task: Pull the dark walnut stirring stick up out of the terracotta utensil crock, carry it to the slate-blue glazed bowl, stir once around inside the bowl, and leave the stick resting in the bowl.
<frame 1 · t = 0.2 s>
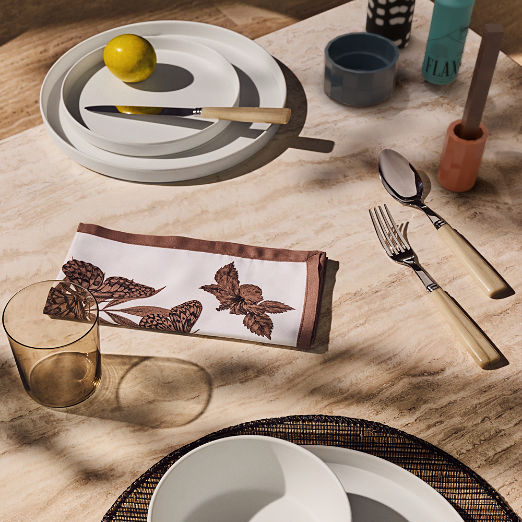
beverage bottle: (437, 82, 118), on the table
glass: (386, 40, 128), on the table
stirring stick: (457, 175, 101), point 1 cm above the table, touching crock
crock: (455, 179, 102), on the table
bowl: (358, 87, 118), on the table
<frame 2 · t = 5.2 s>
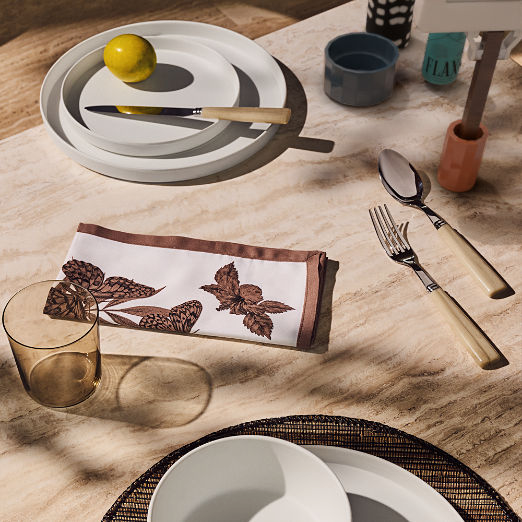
hand: (487, 58, 86), 21 cm above the table, tool pointing down, fingers closed on stirring stick, 2 cm apart
stirring stick: (457, 175, 101), point 1 cm above the table, touching crock, gripper
everything else where it was.
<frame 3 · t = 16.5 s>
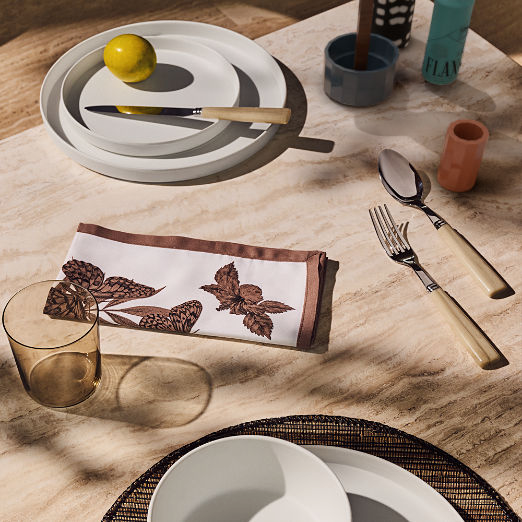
stirring stick: (358, 84, 117), point 1 cm above the table, touching bowl
everything else where it was.
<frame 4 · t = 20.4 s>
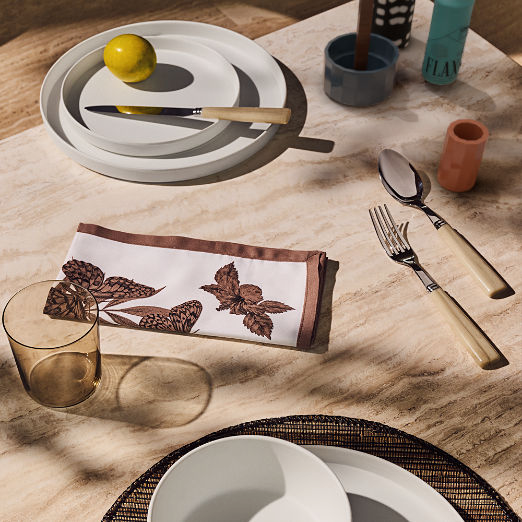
nothing on the table moved.
at the end: stirring stick inside the target area in the bowl (0.1 cm from its centre), point 0.6 cm above the bowl's base; stirring stick moved 26.8 cm from its start; the gripper is holding nothing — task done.
